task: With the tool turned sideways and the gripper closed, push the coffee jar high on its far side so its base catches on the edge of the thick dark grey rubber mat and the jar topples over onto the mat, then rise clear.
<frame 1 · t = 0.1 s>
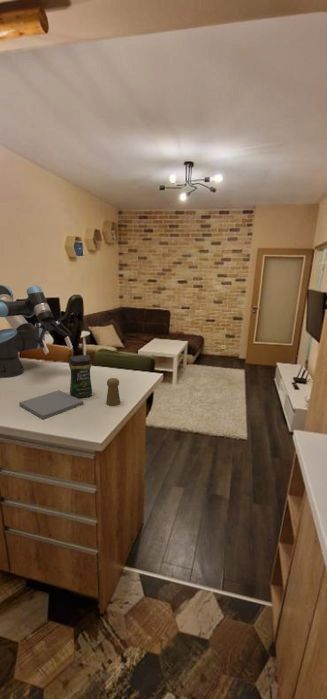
hand: (59, 350, 155), 15 cm above the table, tool tilted 35°, fingers open, 13 cm apart
coffee jar: (81, 395, 140), on the table
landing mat: (52, 405, 129), on the table
cork: (113, 403, 133), on the table
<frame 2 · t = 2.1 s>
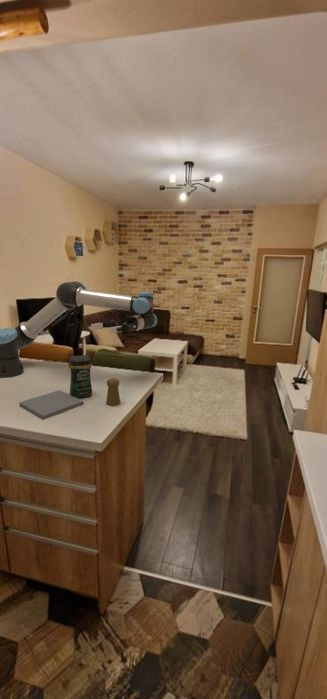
hand: (100, 328, 142), 29 cm above the table, tool horizontal, fingers open, 13 cm apart
nothing on the table moved.
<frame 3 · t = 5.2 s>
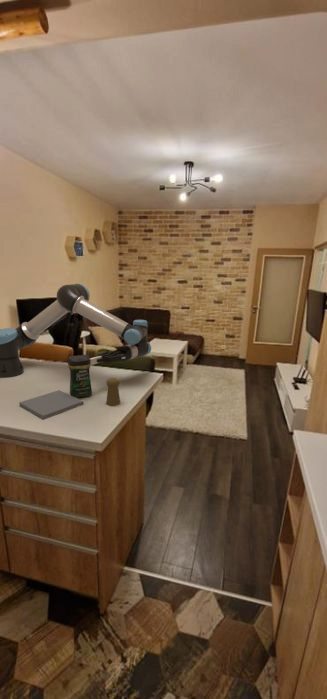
hand: (89, 361, 139), 15 cm above the table, tool horizontal, fingers closed
coffee jar: (81, 395, 140), on the table, touching gripper
everything else where it was.
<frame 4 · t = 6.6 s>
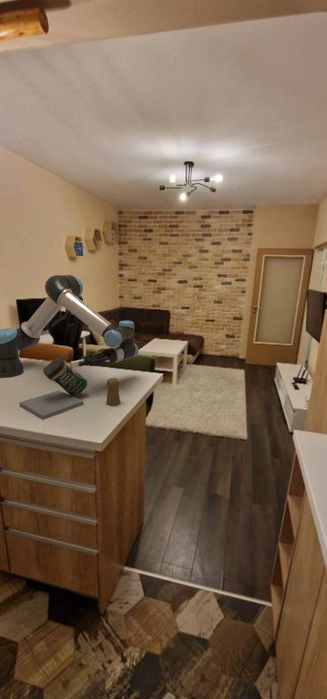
hand: (71, 365, 132), 15 cm above the table, tool horizontal, fingers closed
coffee jar: (80, 388, 139), point 3 cm above the table, touching gripper, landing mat
everything else where it was.
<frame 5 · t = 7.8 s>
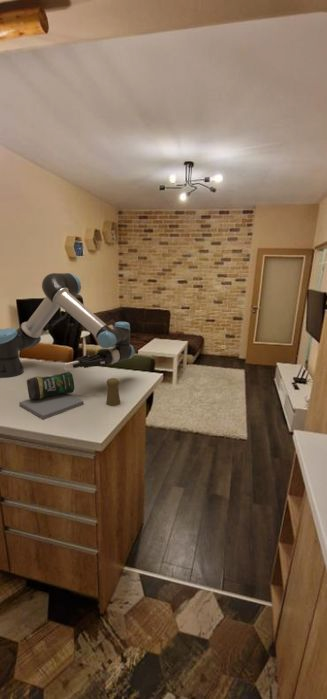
hand: (65, 367, 130), 15 cm above the table, tool horizontal, fingers closed
coffee jar: (71, 381, 139), point 6 cm above the table, touching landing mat
everything else where it was.
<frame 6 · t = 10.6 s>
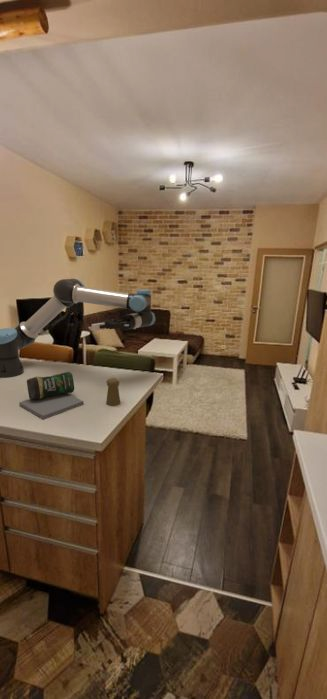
hand: (92, 327, 139), 30 cm above the table, tool horizontal, fingers closed
nothing on the table moved.
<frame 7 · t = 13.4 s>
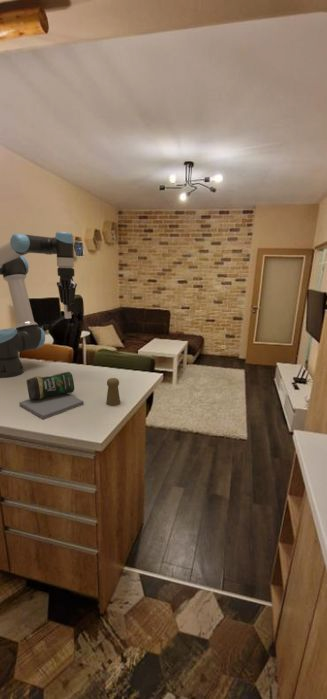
hand: (68, 318, 148), 32 cm above the table, tool pointing down, fingers closed
nothing on the table moved.
at the end: coffee jar tilted 90°; coffee jar touching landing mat; cork moved 0.2 cm from its start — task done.
